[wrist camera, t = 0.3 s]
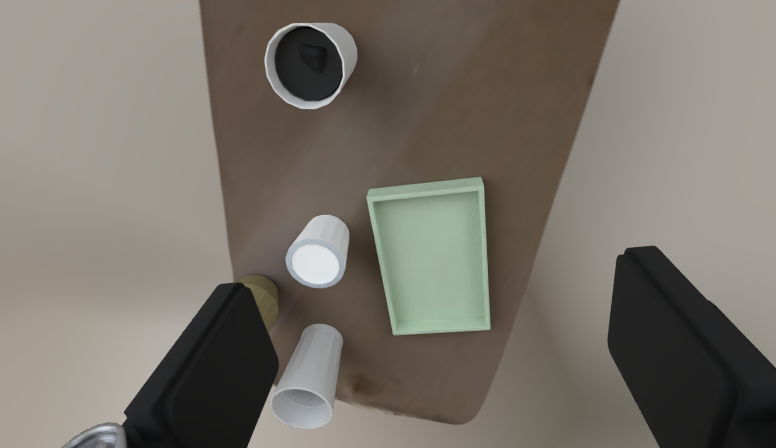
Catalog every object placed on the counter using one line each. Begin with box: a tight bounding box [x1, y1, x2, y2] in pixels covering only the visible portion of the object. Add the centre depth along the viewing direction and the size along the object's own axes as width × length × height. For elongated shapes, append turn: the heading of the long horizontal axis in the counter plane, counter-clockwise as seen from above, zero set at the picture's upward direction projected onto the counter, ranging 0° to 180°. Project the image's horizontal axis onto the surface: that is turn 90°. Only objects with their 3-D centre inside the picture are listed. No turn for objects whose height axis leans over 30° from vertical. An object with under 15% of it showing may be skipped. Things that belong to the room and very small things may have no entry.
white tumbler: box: [264, 23, 357, 109], centre depth 38 cm, size 7×7×10 cm
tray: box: [367, 177, 490, 335], centre depth 52 cm, size 21×13×2 cm, turn 9°
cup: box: [270, 324, 343, 429], centre depth 56 cm, size 8×8×12 cm
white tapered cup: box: [286, 215, 349, 288], centre depth 49 cm, size 7×7×7 cm
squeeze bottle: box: [235, 274, 279, 332], centre depth 50 cm, size 8×8×18 cm
